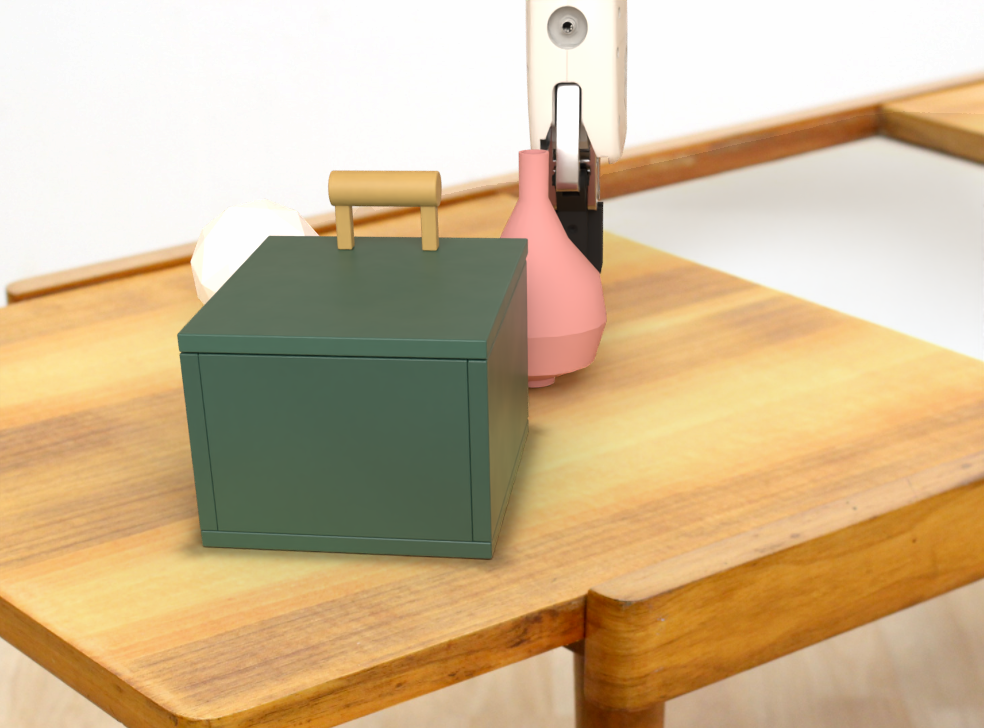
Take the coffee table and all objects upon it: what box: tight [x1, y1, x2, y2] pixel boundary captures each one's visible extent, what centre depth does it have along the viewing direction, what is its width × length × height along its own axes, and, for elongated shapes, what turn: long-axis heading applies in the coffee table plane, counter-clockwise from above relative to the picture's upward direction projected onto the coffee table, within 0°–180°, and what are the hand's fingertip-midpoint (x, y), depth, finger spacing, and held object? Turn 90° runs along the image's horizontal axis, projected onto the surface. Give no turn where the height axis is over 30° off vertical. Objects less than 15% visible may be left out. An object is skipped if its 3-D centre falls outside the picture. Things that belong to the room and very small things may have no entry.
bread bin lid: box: [176, 169, 528, 359], centre depth 67 cm, size 14×13×4 cm
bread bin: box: [179, 260, 530, 560], centre depth 70 cm, size 14×13×9 cm
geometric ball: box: [190, 198, 320, 306], centre depth 90 cm, size 8×8×8 cm
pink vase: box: [499, 148, 608, 388], centre depth 80 cm, size 8×8×12 cm
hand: (574, 272), depth 90 cm, fingers closed
